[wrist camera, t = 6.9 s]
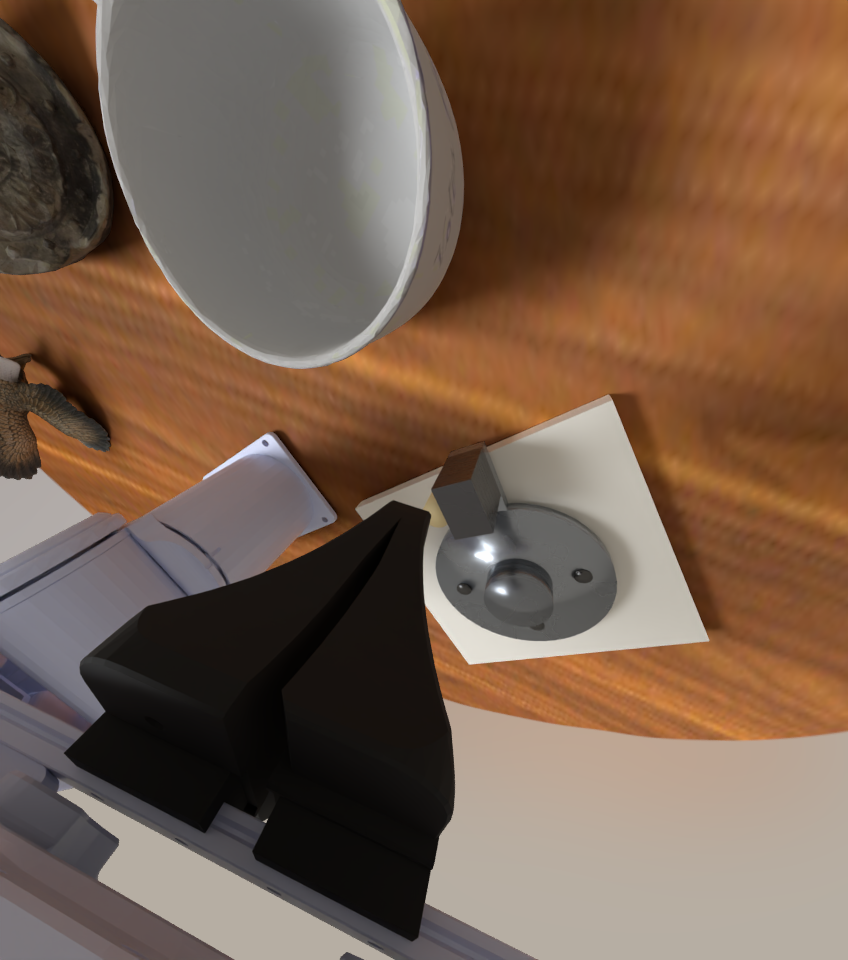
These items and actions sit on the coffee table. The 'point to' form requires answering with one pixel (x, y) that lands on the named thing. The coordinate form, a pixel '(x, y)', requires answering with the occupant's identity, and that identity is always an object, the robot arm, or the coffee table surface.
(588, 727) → the coffee table surface
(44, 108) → the fossil
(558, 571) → the flange plate
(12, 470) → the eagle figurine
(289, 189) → the teacup
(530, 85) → the coffee table surface
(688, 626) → the base plate
